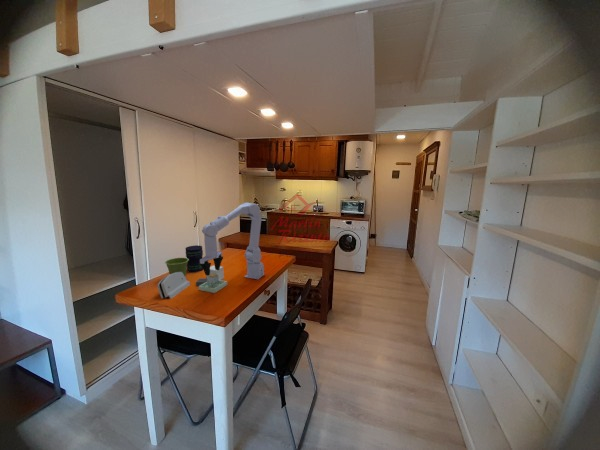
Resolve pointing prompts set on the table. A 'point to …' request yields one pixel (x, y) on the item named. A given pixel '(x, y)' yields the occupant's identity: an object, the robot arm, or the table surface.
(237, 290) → the table surface
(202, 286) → the tray
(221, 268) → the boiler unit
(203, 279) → the square block
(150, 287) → the table surface
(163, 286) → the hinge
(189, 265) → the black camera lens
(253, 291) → the table surface
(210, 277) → the block
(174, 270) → the plant pot
